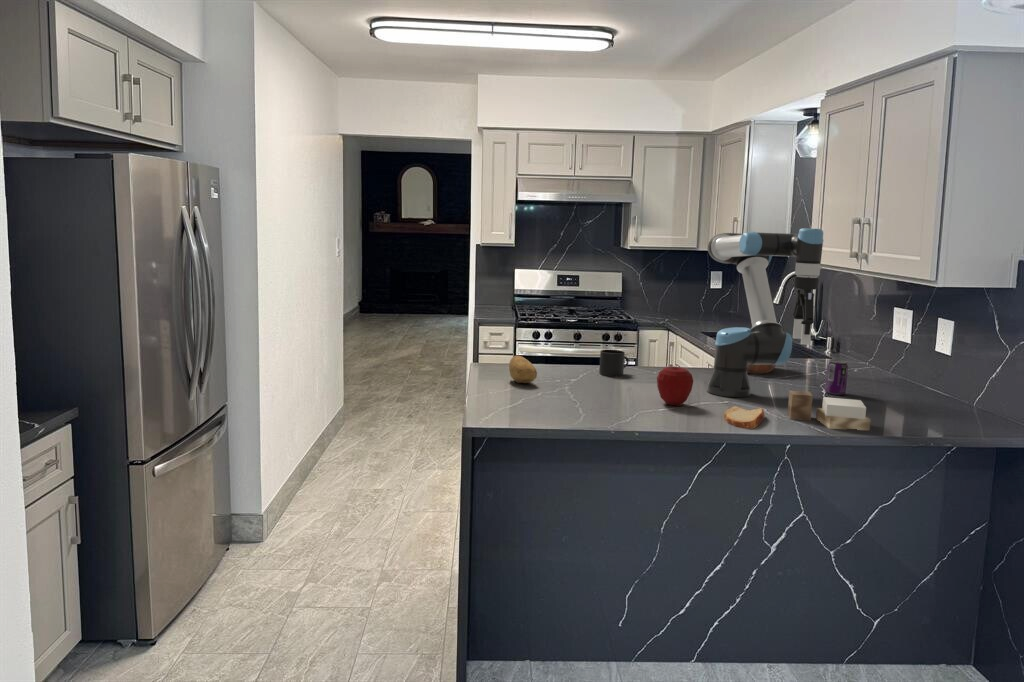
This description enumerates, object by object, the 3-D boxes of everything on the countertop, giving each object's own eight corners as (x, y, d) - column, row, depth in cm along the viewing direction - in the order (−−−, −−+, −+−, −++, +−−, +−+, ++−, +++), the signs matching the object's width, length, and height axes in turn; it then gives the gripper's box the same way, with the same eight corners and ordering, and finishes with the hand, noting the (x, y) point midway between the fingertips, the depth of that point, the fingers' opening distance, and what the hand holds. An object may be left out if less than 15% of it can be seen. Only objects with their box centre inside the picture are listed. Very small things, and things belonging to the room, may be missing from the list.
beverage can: (847, 396, 289) (850, 363, 287) (826, 394, 290) (829, 362, 289) (843, 392, 296) (846, 360, 294) (823, 390, 297) (826, 359, 295)
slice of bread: (743, 430, 236) (744, 418, 236) (704, 416, 252) (705, 404, 252) (789, 426, 244) (791, 414, 243) (749, 412, 260) (750, 401, 259)
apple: (648, 401, 268) (650, 362, 266) (677, 399, 273) (680, 361, 271) (668, 409, 258) (671, 369, 255) (698, 407, 262) (701, 367, 260)
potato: (516, 387, 282) (517, 361, 281) (504, 379, 297) (504, 354, 296) (539, 387, 285) (540, 361, 284) (526, 378, 300) (527, 353, 298)
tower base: (829, 430, 241) (830, 417, 241) (815, 420, 253) (816, 408, 252) (869, 432, 241) (870, 419, 240) (853, 422, 253) (855, 409, 252)
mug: (633, 376, 312) (634, 353, 311) (605, 376, 308) (607, 353, 307) (622, 371, 321) (623, 349, 320) (595, 372, 317) (596, 349, 316)
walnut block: (790, 419, 251) (792, 394, 250) (787, 414, 257) (789, 390, 256) (810, 420, 250) (812, 395, 249) (806, 416, 256) (809, 391, 255)
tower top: (826, 415, 243) (827, 404, 242) (822, 407, 253) (823, 397, 252) (865, 419, 240) (866, 407, 239) (859, 411, 250) (860, 400, 250)
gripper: (828, 279, 246) (821, 347, 249) (811, 274, 270) (805, 336, 273) (802, 278, 247) (796, 346, 250) (787, 273, 271) (782, 335, 274)
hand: (801, 341), depth 262 cm, fingers open, 13 cm apart
